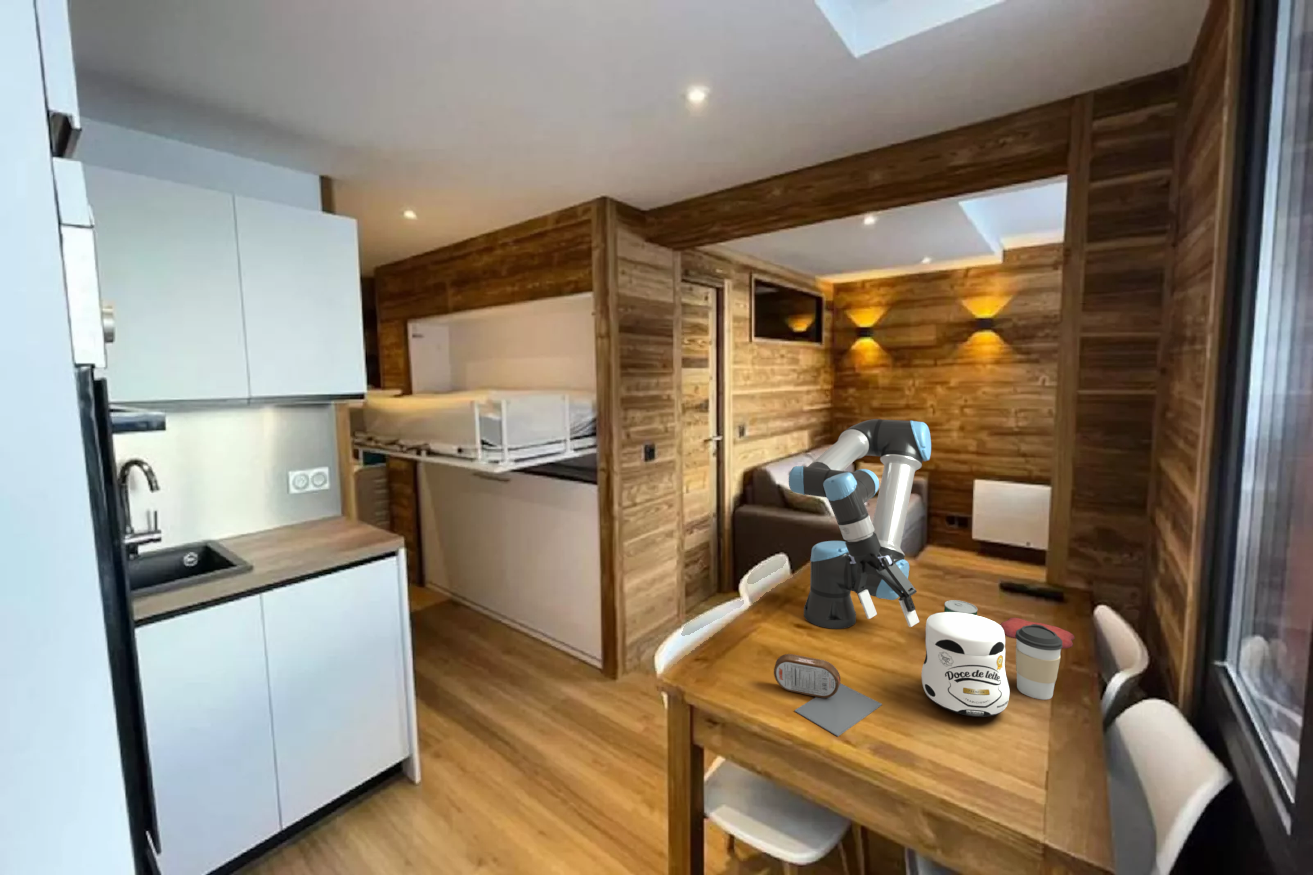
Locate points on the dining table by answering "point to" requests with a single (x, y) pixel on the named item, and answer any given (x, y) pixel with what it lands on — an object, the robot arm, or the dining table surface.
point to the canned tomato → (960, 607)
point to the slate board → (838, 710)
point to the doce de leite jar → (965, 664)
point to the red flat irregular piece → (1017, 623)
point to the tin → (807, 675)
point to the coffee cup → (1037, 660)
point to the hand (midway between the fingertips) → (892, 620)
